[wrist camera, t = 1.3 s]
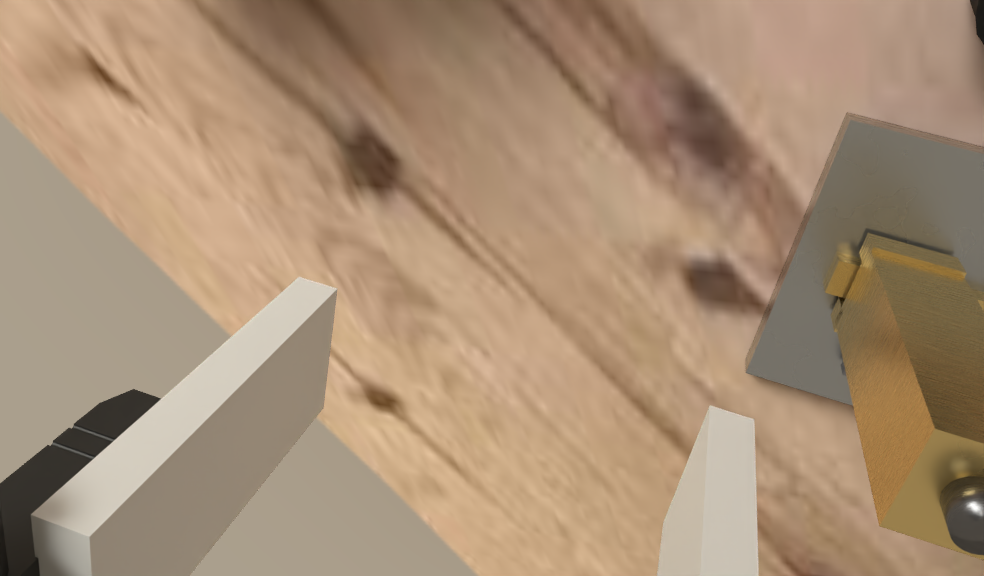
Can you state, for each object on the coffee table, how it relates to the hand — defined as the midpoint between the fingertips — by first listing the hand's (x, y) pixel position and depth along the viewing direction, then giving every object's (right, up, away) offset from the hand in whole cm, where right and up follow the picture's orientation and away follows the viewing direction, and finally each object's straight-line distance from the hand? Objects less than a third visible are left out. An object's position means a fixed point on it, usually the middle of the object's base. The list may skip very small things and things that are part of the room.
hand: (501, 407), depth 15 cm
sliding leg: (+16, +1, +19) cm, 25 cm away
